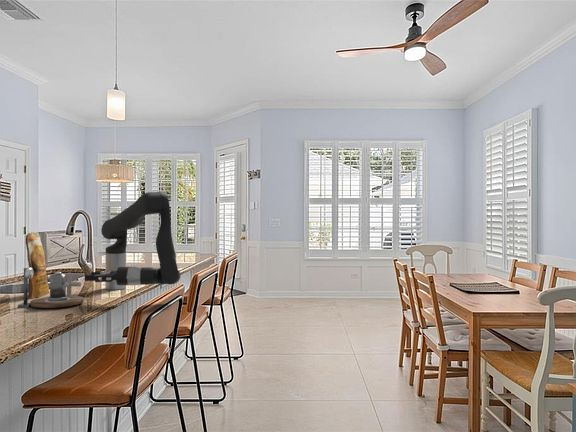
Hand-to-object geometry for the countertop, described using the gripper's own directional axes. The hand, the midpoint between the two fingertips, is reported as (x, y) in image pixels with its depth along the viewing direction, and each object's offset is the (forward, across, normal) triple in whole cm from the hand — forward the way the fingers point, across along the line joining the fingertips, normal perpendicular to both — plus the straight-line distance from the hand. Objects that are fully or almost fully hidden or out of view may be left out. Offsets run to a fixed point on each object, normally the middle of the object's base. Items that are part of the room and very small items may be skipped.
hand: (88, 276), depth 181 cm
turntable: (+11, +1, +11) cm, 16 cm away
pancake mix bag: (+27, -22, +12) cm, 37 cm away
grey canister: (+11, 0, +9) cm, 15 cm away
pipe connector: (+13, -20, +12) cm, 27 cm away
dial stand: (+22, +3, +11) cm, 25 cm away
